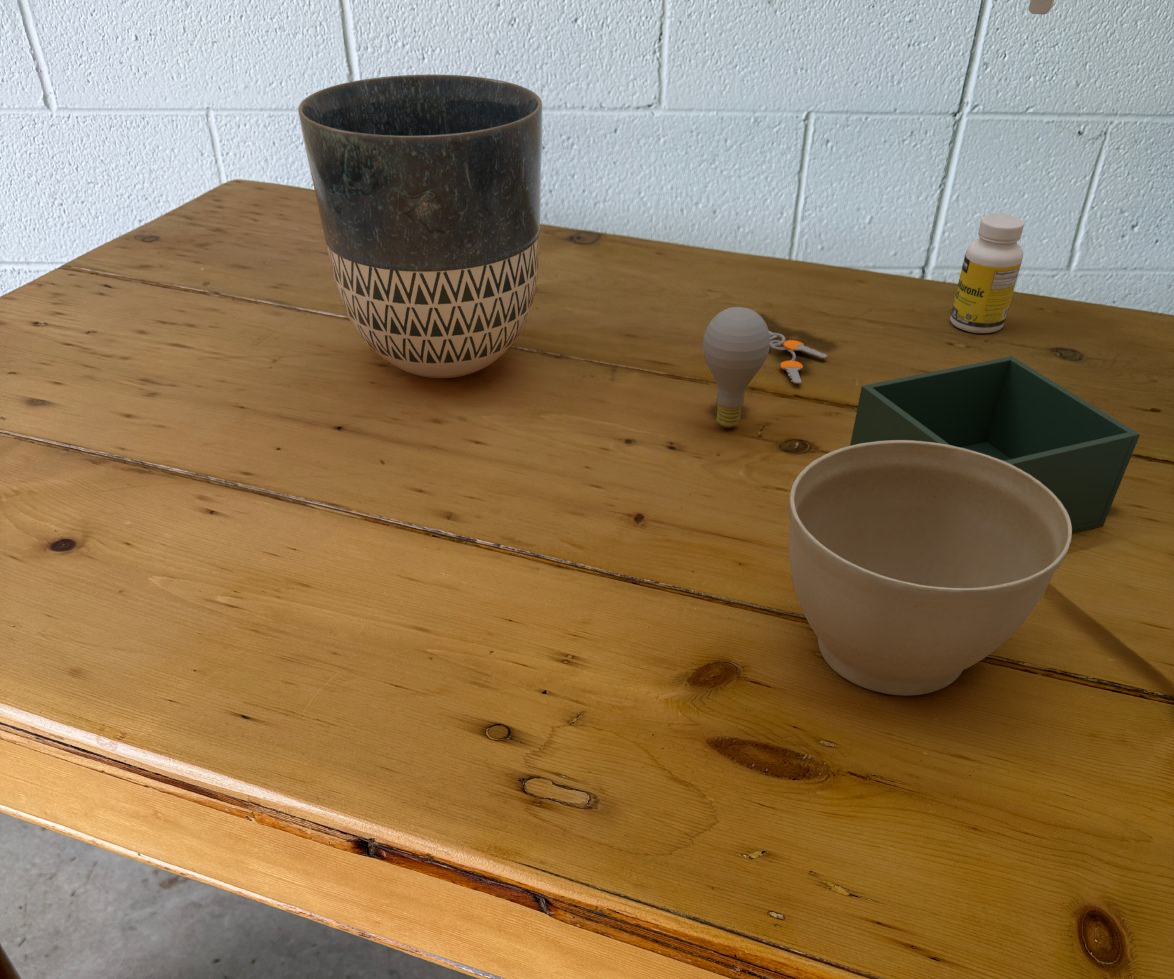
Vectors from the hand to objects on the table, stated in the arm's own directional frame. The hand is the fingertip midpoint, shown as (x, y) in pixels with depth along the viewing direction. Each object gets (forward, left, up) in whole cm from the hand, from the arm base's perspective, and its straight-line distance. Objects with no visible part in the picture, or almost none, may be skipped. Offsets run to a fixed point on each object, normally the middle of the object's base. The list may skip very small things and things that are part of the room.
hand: (1049, 3), depth 94 cm
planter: (+57, -5, -26) cm, 63 cm away
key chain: (+27, +5, -26) cm, 37 cm away
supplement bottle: (+4, +6, -26) cm, 27 cm away
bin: (+26, +34, -26) cm, 50 cm away
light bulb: (+38, +16, -26) cm, 49 cm away
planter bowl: (+43, +48, -26) cm, 69 cm away
